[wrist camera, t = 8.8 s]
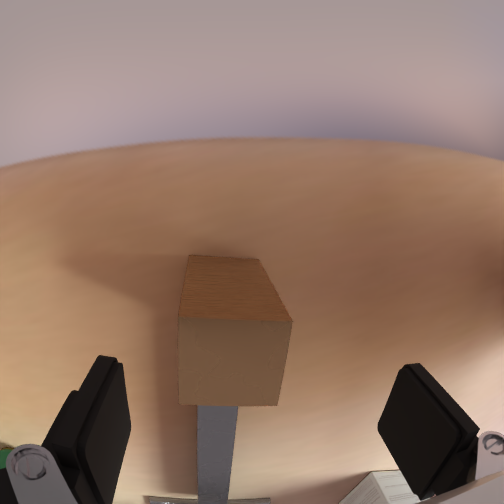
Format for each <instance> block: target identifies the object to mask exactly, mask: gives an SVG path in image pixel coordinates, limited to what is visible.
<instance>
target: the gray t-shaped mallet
mask: <svg viewBox="0 0 504 504" xmlns="http://www.w3.org/2000/svg"><path fill="white" fill-rule="evenodd" d="M292 322H293V321H292V319H291V317H290V315H289V314H288V312H287V310H286V308H285V306H284V305H283V303H282V301H281V299H280V297H279V295H278V294H277V292H276V290H275V288H274V286H273V285H272V283H271V281H270V279H269V277H268V276H267V274H266V272H265V270H264V268H263V267H262V265H261V263H260V261H259V260H258V259H242V258H227V257H212V256H196V255H189V260H188V265H187V270H186V275H185V281H184V286H183V292H182V297H181V303H180V309H179V314H178V395H179V404H183V405H197V478H198V504H227V501H228V492H229V483H230V474H231V466H232V457H233V448H234V439H235V430H236V421H237V412H238V406H277V404H278V399H279V394H280V389H281V383H282V378H283V373H284V368H285V362H286V357H287V351H288V346H289V340H290V334H291V328H292Z"/></svg>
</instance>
